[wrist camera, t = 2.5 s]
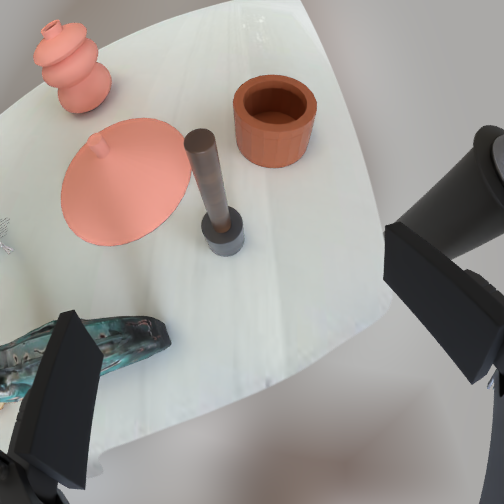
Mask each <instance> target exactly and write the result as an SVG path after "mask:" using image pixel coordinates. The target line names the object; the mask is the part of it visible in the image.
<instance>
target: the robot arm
mask: <svg viewBox="0 0 504 504" xmlns="http://www.w3.org/2000/svg"><path fill="white" fill-rule="evenodd" d="M490 157H491V162H492V165H493V168H494V171H495V173H496V175H497V177H498V179H499V181H500V183H501V184H502V186H503V187H504V135H502V136H500V137H498V138H497V139H496V140H495V141H494V142H493V143H492V144H491V147H490ZM383 280H384V281H385V282H386V283H387V284H388V285H389V287H390V288H391V289H392V290H393V291H394V292H395V293H396V294H397V295H398V296H399V298H400V299H401V300H402V301H403V302H404V303H405V304H406V305H407V307H409V309H410V310H411V311H412V312H413V313H414V314H415V316H416V317H417V318H418V319H419V320H420V321H421V323H422V324H423V325H424V326H425V327H426V328H427V330H428V331H429V332H430V333H431V334H432V336H433V337H434V338H435V339H436V340H437V342H438V343H439V344H440V345H441V346H442V347H443V349H444V350H445V351H446V353H447V354H448V355H449V356H450V358H451V359H452V360H453V361H454V362H455V364H456V365H457V366H458V368H459V369H460V370H461V371H462V373H463V374H464V375H465V377H466V378H467V379H468V381H469V382H470V383H471V384H474V383H475V382H477V381H478V380H480V379H481V378H483V377H484V376H485V375H487V373H488V371H489V369H490V367H491V366H492V364H494V365H495V367H496V368H497V369H496V371H495V373H494V374H493V376H492V378H491V379H490V381H489V383H488V386H487V389H489V388H490V387H491V385H492V384H493V382H494V387H493V389H494V408H493V424H492V434H491V443H490V451H489V457H488V464H487V470H486V475H485V480H484V486H483V490H482V494H481V498H480V502H479V504H504V296H503V295H502V294H501V293H500V292H499V291H496V288H495V287H493V286H492V285H491V284H489V282H488V281H487V280H485V279H484V278H483V277H482V276H480V275H479V274H477V273H475V272H473V271H471V270H468V269H467V270H464V271H463V270H462V269H461V268H460V267H459V266H457V265H456V264H455V263H454V262H452V261H451V260H450V259H449V258H448V257H446V256H445V255H444V254H442V253H441V252H440V251H439V250H437V249H436V248H435V247H434V246H432V245H431V244H430V243H428V242H427V241H426V240H424V239H423V238H422V237H420V236H419V235H418V234H416V233H415V232H414V231H412V230H411V229H410V228H408V227H407V226H405V225H404V224H403V223H401V222H396V223H393V224H390V225H386V226H385V256H384V276H383ZM103 358H104V354H103V353H102V352H101V350H100V349H99V347H98V346H97V344H96V343H95V341H94V340H93V338H92V337H91V335H90V334H89V332H88V331H87V329H86V328H85V326H84V325H83V323H82V322H81V320H80V318H79V317H78V315H77V313H76V312H75V310H71V311H67V312H63V313H60V315H59V318H58V320H57V322H56V324H55V327H54V329H53V331H52V334H51V336H50V339H49V341H48V344H47V346H46V349H45V351H44V354H43V356H42V359H41V362H40V364H39V367H38V370H37V373H36V375H35V378H34V381H33V384H32V387H31V388H29V390H28V391H27V393H26V394H25V396H24V397H23V399H22V402H21V405H20V409H19V413H18V415H17V419H16V420H17V422H15V426H14V429H13V433H12V437H11V441H10V445H9V449H8V453H7V455H6V454H5V453H4V452H2V451H1V450H0V504H69V502H68V500H67V499H66V497H65V496H64V494H63V493H62V492H61V490H60V489H58V488H57V485H58V482H59V483H60V484H62V485H64V486H66V487H67V488H71V489H83V490H85V485H86V472H87V460H88V451H89V442H90V434H91V426H92V419H93V413H94V406H95V400H96V394H97V389H98V383H99V378H100V373H101V368H102V363H103Z"/></svg>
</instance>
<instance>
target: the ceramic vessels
mask: <svg viewBox="0 0 504 504" xmlns="http://www.w3.org/2000/svg"><path fill="white" fill-rule="evenodd" d="M41 33H42V35H43V36H44V38H43V39H42V40H41V42H40V43H39V45H38V46H37V48H36V50H35V52H34V56H33V58H34V62H35V64H37V65H39V66H42V67H43V69H42V75H43V79H44V81H45V82H46V83H47V84H48V85H49V86H52V87H56V88H58V98H59V101H60V103H61V105H62V107H63V108H64V109H65V110H67V111H69V112H71V113H84V112H88V111H90V110H93V109H95V108H96V107H98V106H99V105H100V104H101V103H102V102H103V101H104V99H105V98H106V96H107V95H108V93H109V91H110V88H111V75H110V73H109V71H108V70H107V68H106V67H105V66H103V65H102V64H100V63H98V62H96V61H97V57H98V49H97V45H96V44H95V43H94V42H93V41H92V40H91V39H88V38H86V33H87V29H86V28H85V26H84V25H83V24H80V23H70V24H65V25H63V26H61V24H60V21H59V20H55V21H52V22H50V23H49V24H47V25H46V26H45V27H44V28H43V29H42V30H41ZM191 169H192V168H191V165H190V162H189V159H188V156H187V154H186V151H185V148H184V137H183V136H182V134H180V133H179V132H178V131H177V130H176V129H175V128H174V127H172V126H171V125H169V124H167V123H166V122H163V121H160V120H156V119H150V118H136V119H129V120H125V121H121V122H118V123H116V124H113V125H111V126H109V127H107V128H105V129H104V130H102V131H100V132H99V133H94V134H92V135H91V136H90V137H89V138H88V140H87V143H86V144H85V145H84V146H83V147H82V148H81V149H80V150H79V151H78V153H77V154H76V156H75V157H74V158H73V160H72V162H71V163H70V165H69V167H68V169H67V171H66V174H65V177H64V180H63V184H62V191H61V207H62V211H63V215H64V218H65V220H66V222H67V224H68V226H69V228H70V229H71V230H72V231H73V232H74V233H75V234H76V235H77V236H78V237H80V238H81V239H83V240H85V241H86V242H89V243H92V244H95V245H101V246H115V245H122V244H126V243H129V242H132V241H135V240H137V239H140V238H141V237H143V236H145V235H147V234H148V233H150V232H152V231H153V230H154V229H156V228H157V227H158V226H159V225H161V224H162V223H163V222H164V221H165V220H166V219H167V218H168V217H169V216H170V215H171V213H172V212H173V211H174V210H175V209H176V207H177V206H178V204H179V202H180V201H181V199H182V198H183V196H184V194H185V191H186V189H187V186H188V184H189V180H190V175H191Z"/></svg>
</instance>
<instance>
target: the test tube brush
mask: <svg viewBox="0 0 504 504" xmlns="http://www.w3.org/2000/svg"><path fill="white" fill-rule="evenodd" d="M6 219H7V218H6ZM1 220H2V219H1ZM4 220H5V219H4ZM4 220H3V221H4ZM9 220H10V219H9ZM7 221H8V220H7ZM1 222H2V221H1ZM1 222H0V223H1ZM4 223H5V222H4ZM8 223H9V222H8ZM8 223H7V224H8ZM1 225H2V224H1ZM1 225H0V226H1ZM5 225H6V224H5ZM5 225H4V226H5ZM6 227H7V226H6ZM6 227H5V228H6ZM1 228H2V227H1ZM3 229H4V228H3ZM3 229H2V230H3ZM4 231H5V230H4ZM4 231H3V232H4ZM6 232H7V231H6ZM1 233H2V232H1ZM1 233H0V234H1ZM3 234H4V233H3ZM5 235H6V234H5ZM0 236H1V235H0ZM1 238H2V237H1ZM0 247H2V248H3V249H4V250H5V251H6V252H7V253H8V254H11V253H10V252H9V250H10V251H12V252H13V250H14V249H12V248H10V247H7V246H5V245H4V244H2V243H1V241H0Z"/></svg>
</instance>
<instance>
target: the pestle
mask: <svg viewBox="0 0 504 504" xmlns="http://www.w3.org/2000/svg"><path fill="white" fill-rule="evenodd" d="M184 148H185V151H186V154H187V156H188V159H189V162H190V165H191V168H192V171H193V174H194V176H195V179H196V182H197V185H198V188H199V190H200V193H201V196H202V199H203V202H204V204H205V207H206V210H207V213H206V214H205V216H204V217H203V220H202V225H201V227H202V232H203V234H204V236H205V238H206V241H207V243H208V245H209V247H210V248H211V250H212V251H213V252H214V253H215V254H217V255H220V256H231V255H234V254H236V253H237V252H238V251H239V250H240V249H241V248H242V246H243V243H244V231H243V222H242V218H241V216H240V214H239V213H238V212H237V211H236V210H235V209H234V208H232V207H229V206H228V204H227V199H226V194H225V188H224V183H223V178H222V173H221V167H220V162H219V157H218V152H217V146H216V141H215V136H214V134H213V133H212V132H211V131H209V130H207V129H195V130H193V131H191V132H190V133H188V134H187V135H186V137H185V139H184Z"/></svg>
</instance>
